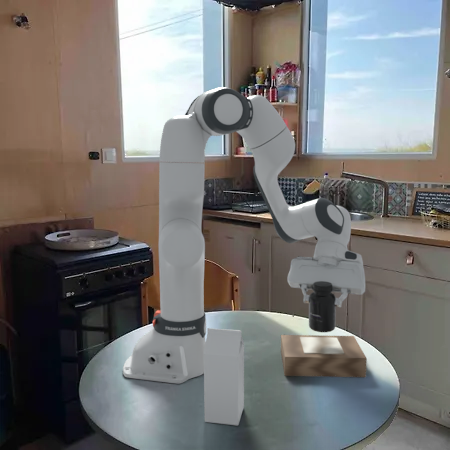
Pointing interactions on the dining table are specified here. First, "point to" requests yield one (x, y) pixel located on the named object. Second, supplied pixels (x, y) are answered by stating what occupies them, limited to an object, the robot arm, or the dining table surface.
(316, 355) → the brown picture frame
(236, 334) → the milk carton
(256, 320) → the dining table surface
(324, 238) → the robot arm
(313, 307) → the supplement bottle
